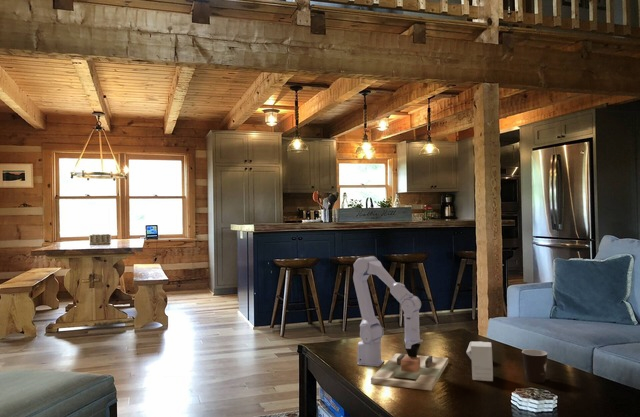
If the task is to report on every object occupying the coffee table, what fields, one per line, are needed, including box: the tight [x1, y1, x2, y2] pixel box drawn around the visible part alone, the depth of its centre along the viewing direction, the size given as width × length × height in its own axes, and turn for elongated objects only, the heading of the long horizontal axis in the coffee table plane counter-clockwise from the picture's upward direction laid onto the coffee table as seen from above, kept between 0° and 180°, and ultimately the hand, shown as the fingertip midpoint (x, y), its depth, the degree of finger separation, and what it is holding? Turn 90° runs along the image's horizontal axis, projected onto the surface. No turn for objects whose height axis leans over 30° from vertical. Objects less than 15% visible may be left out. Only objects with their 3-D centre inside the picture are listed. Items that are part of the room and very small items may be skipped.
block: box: [401, 356, 420, 372], centre depth 192 cm, size 6×6×4 cm
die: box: [465, 341, 483, 361], centre depth 208 cm, size 8×9×10 cm
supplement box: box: [471, 341, 494, 382], centre depth 187 cm, size 7×7×13 cm
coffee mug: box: [521, 348, 548, 384], centre depth 184 cm, size 12×9×10 cm
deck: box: [370, 353, 449, 391], centre depth 195 cm, size 22×35×4 cm, turn 157°
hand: (412, 362), depth 196 cm, fingers closed
